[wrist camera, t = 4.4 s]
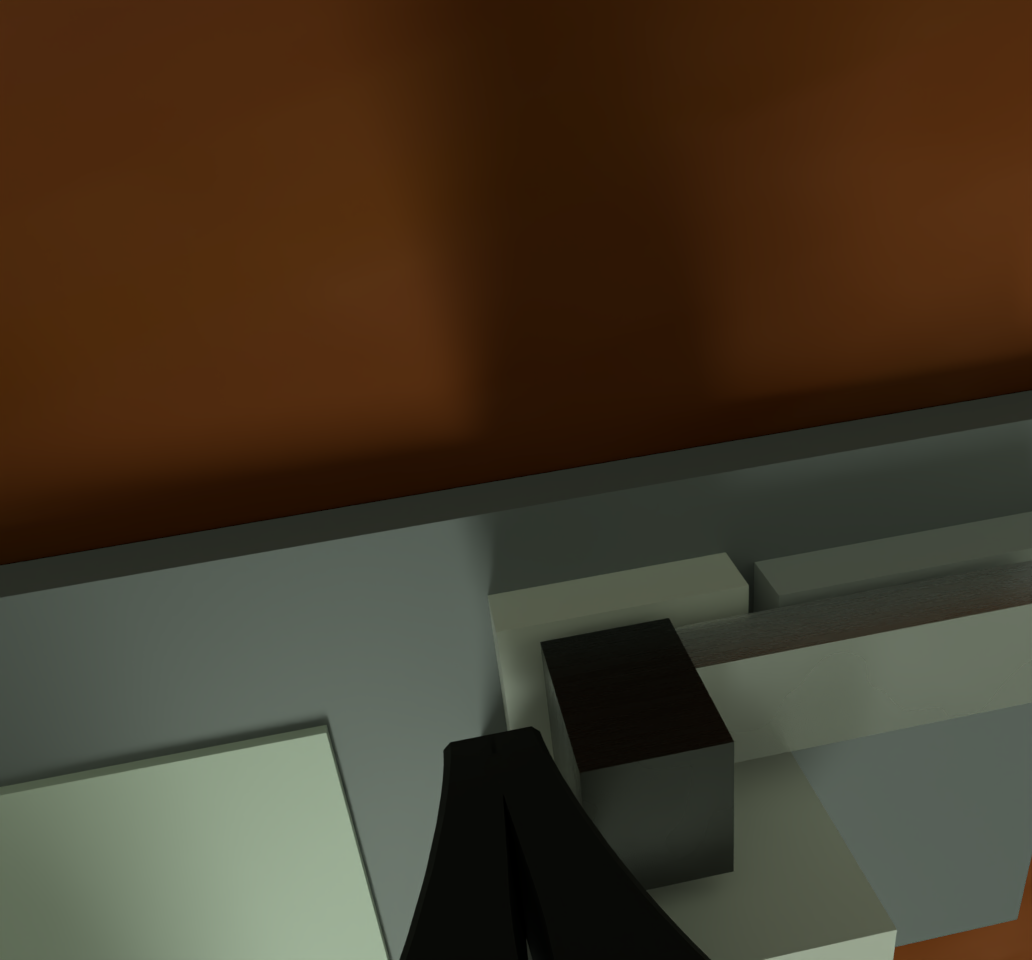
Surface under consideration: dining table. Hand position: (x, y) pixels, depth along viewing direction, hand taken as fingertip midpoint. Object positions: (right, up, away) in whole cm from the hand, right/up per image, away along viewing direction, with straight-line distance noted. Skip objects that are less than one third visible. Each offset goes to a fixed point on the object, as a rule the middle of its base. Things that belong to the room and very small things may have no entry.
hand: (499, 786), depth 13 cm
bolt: (+5, +1, +2) cm, 5 cm away
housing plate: (+1, -1, +5) cm, 5 cm away
